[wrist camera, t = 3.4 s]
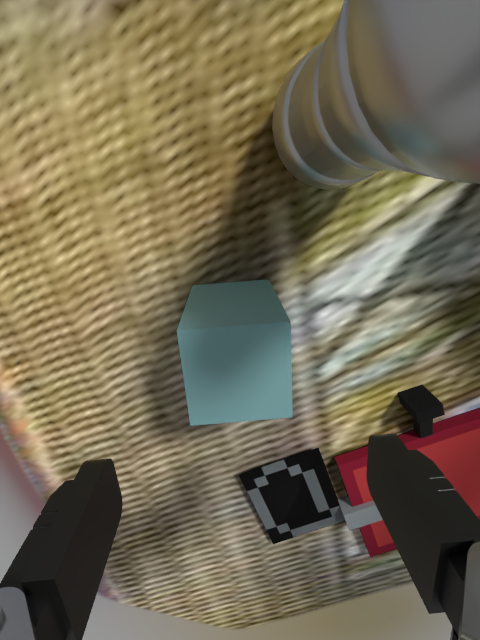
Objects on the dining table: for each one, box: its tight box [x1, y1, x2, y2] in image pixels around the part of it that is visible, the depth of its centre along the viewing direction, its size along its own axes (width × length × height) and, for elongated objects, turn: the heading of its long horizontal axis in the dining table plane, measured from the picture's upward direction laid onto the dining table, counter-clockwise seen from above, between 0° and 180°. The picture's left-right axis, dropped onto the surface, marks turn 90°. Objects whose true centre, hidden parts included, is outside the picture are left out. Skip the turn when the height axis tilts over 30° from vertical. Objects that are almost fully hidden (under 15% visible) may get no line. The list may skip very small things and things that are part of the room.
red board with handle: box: [239, 385, 480, 557], centre depth 28 cm, size 30×3×15 cm
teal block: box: [177, 279, 292, 426], centre depth 20 cm, size 5×5×8 cm
